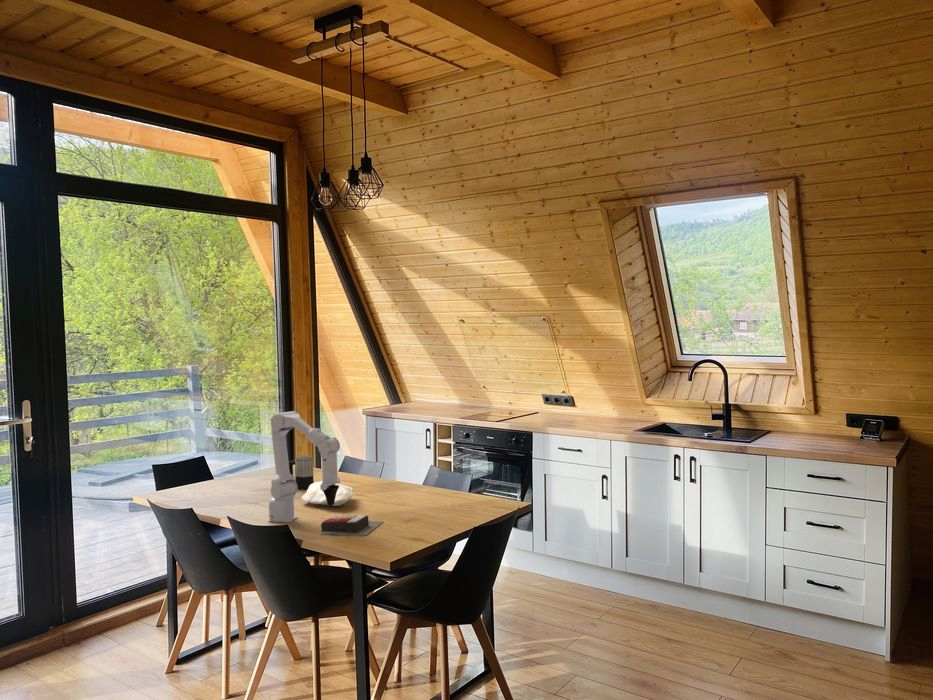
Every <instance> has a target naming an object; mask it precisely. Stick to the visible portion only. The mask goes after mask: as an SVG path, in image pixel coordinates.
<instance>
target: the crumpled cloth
mask: <svg viewBox="0 0 933 700" xmlns="http://www.w3.org/2000/svg"><path fill="white" fill-rule="evenodd" d="M322 481H323V480H320V481H315V482H314V483H313V484H311V485H310V486H309V488H308V489H306V492H305V493H304V494H303V495H302V496H301V498H300V499H301V501H303V502H304V503H305V502H306V503H311V504H314V505H323V506H329V505H328V504H327V500H326V497H325V494H324V492H323V491H322V490H321V489H320V485H321V484H322ZM335 485H339V488H338V490H337V493H336V497H335V502H334V505H332V506H334V507H337V506H342V505H343V504H346V503H347V502H348V501H350V500H351V498H352V497H353V496H354V492H355V489H354V488H353V487H352V486H348V485H347V486H346V485H345V484H342V483H337V484H335Z"/></svg>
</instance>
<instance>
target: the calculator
mask: <svg viewBox="0 0 933 700" xmlns="http://www.w3.org/2000/svg"><path fill="white" fill-rule="evenodd" d="M369 521H370V520H369V515H366V514H360V515H359V514H358V515H357V514H346V515H345V514H344V515H340V514H339V515H338V514H337V515H333V516H331V517H329V518H327V519H325V520H324V521H322V523H321V524H320V527H321V532H324V531H347V532H358V531H359V530H361V529H363V528H364V527H366V526H368V525H369Z"/></svg>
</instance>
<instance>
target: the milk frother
mask: <svg viewBox="0 0 933 700" xmlns="http://www.w3.org/2000/svg"><path fill="white" fill-rule="evenodd" d="M289 470H290V474H292V475H293V476H294V477H295V481H296V483H297V486H298V490H301V489H304V490H308V488H309V486H310V485H311V484H313V483H315V482H314V457H313V456H298V457H295V458H294V459H293V460H290V461H289ZM294 472H295V473H294ZM294 474H295V475H294Z"/></svg>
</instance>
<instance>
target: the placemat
mask: <svg viewBox="0 0 933 700" xmlns="http://www.w3.org/2000/svg"><path fill="white" fill-rule="evenodd" d="M383 523H384V521H381V520H380V521H377V520H375V521H374V520H369V525H368V526H366V527H364V528H363V529H361V530H359V531H358V532H347V531H321V532H320V535H321V534H324V535H325V534H326V535H325V536H329V535H328V534H331V535H330V536H348V535H360V536H359V537H367V536H368V535H370V534H371V533H372V532H373V531H374V530H376V529H377V528H378V527H379V526H380V524H381V525H382V524H383ZM375 528H376V529H375ZM371 531H372V532H371ZM370 532H371V533H370ZM332 534H333V535H332ZM361 535H362V536H361Z"/></svg>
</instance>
